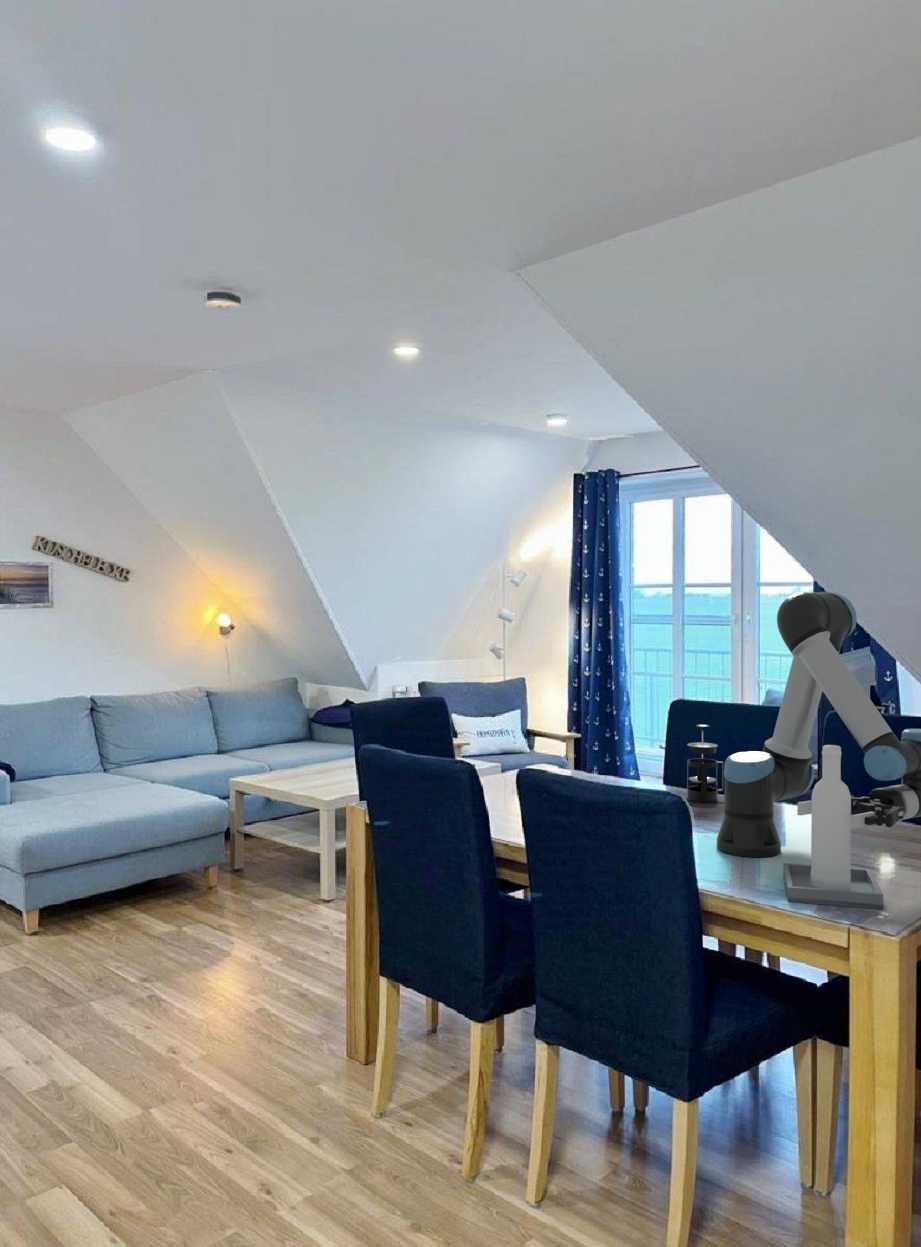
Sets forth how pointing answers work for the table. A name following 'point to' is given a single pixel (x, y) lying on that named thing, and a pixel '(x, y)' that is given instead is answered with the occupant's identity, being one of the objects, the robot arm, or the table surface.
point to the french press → (703, 773)
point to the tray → (859, 895)
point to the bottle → (831, 825)
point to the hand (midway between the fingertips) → (824, 815)
